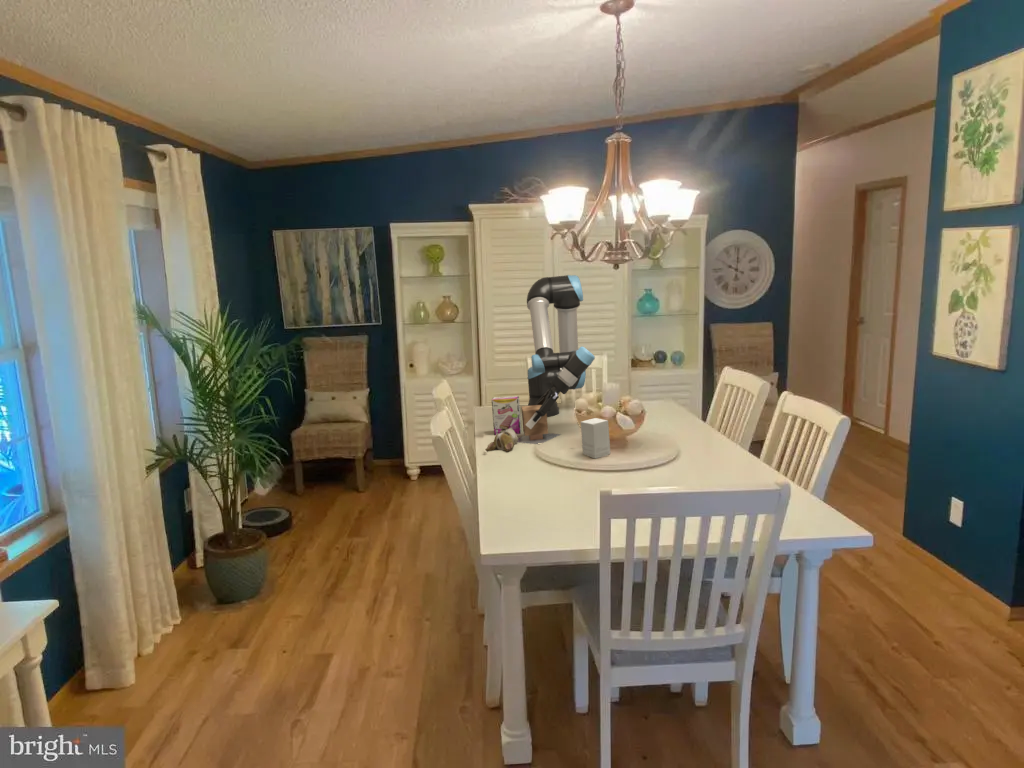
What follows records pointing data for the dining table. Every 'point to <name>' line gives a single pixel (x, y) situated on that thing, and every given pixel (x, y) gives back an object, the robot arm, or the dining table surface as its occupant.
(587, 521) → the dining table surface
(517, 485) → the dining table surface
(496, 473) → the dining table surface
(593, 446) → the supplement box
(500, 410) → the candy bar box
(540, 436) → the dish
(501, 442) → the ceramic sculpture
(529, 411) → the wooden block
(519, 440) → the board
